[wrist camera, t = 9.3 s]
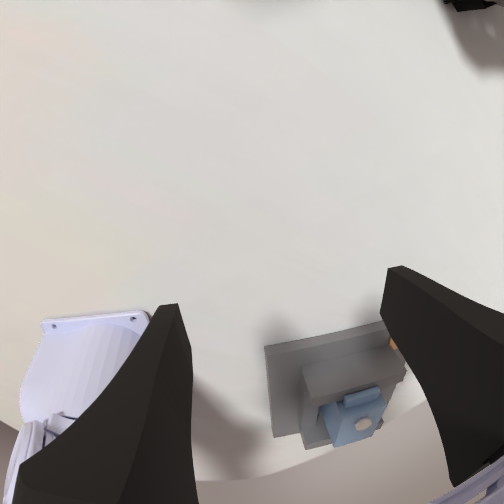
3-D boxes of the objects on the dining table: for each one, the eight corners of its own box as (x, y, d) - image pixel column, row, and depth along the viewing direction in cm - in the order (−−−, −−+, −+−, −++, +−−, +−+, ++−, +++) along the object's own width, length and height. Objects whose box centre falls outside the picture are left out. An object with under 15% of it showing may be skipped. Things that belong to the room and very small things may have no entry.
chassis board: (272, 430, 31) (279, 462, 27) (264, 346, 24) (274, 389, 20) (383, 402, 32) (396, 429, 28) (414, 311, 25) (439, 343, 21)
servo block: (319, 413, 29) (333, 457, 24) (325, 366, 25) (346, 418, 20) (353, 404, 29) (371, 445, 24) (367, 355, 25) (393, 403, 20)
